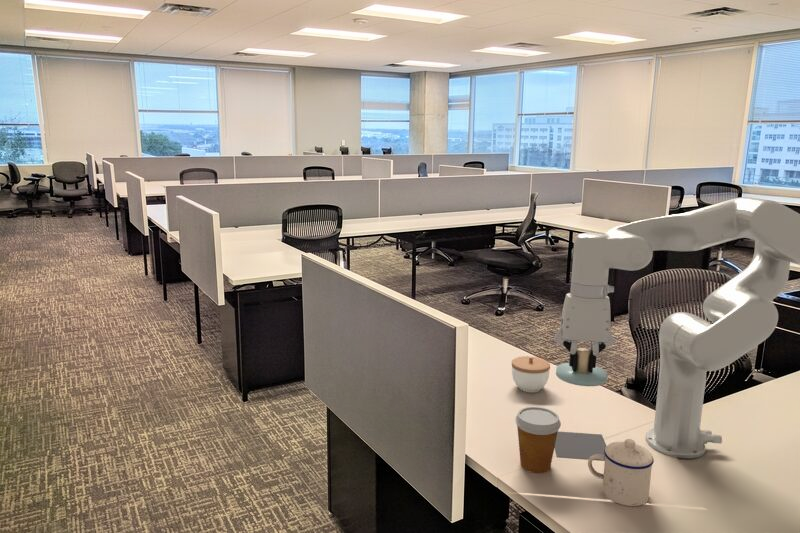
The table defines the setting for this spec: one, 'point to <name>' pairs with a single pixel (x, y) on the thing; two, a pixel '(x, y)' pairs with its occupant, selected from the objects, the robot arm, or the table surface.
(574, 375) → the cover
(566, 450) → the mat
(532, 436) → the disposable coffee cup
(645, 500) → the teacup with lid
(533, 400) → the table surface
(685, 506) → the table surface
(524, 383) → the lidded jar
